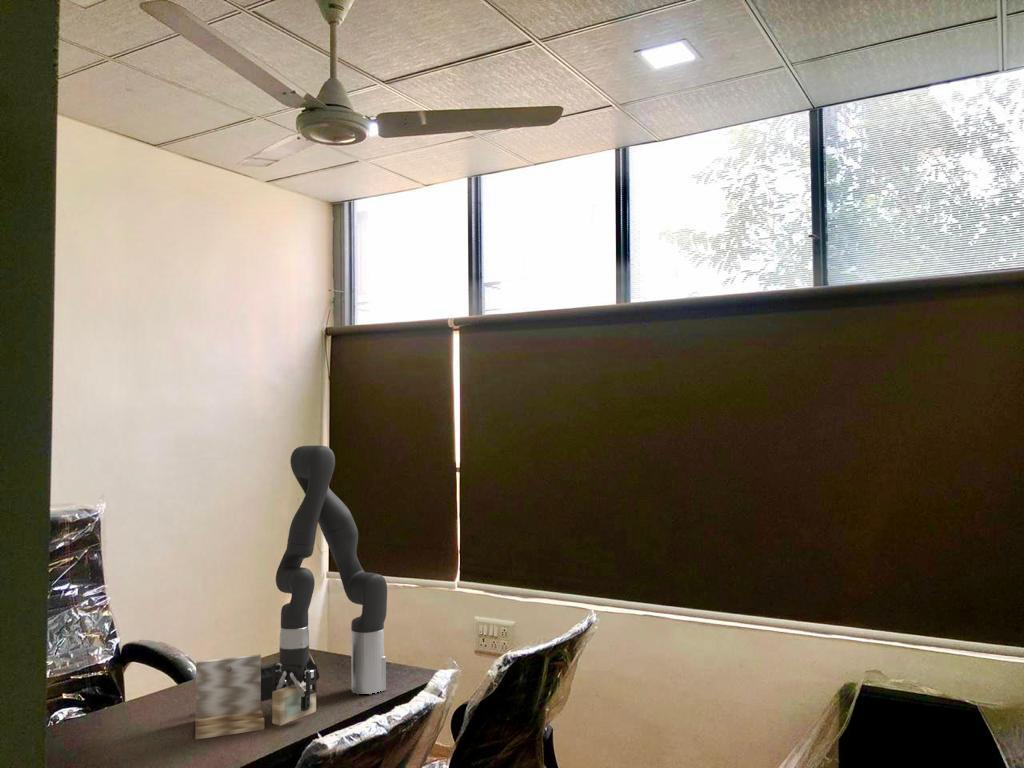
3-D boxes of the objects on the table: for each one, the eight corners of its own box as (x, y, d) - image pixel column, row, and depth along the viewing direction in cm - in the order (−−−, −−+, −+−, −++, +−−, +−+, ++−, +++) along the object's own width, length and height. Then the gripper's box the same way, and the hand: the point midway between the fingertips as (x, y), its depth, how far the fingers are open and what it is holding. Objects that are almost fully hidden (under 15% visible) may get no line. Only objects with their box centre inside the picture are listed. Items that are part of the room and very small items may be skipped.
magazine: (206, 680, 210) (306, 628, 229) (202, 678, 212) (301, 626, 232) (224, 739, 212) (322, 682, 231) (220, 736, 214) (316, 680, 234)
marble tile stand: (260, 711, 211) (260, 654, 212) (264, 729, 198) (264, 668, 199) (195, 720, 205) (196, 661, 206) (195, 739, 192) (196, 676, 193)
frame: (307, 709, 212) (307, 679, 213) (316, 711, 210) (316, 681, 211) (272, 723, 202) (272, 691, 203) (280, 726, 200) (280, 693, 201)
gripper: (264, 643, 208) (263, 706, 207) (302, 650, 200) (301, 716, 199) (287, 637, 215) (286, 699, 213) (324, 644, 207) (323, 708, 205)
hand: (293, 707), depth 206 cm, fingers open, 8 cm apart
